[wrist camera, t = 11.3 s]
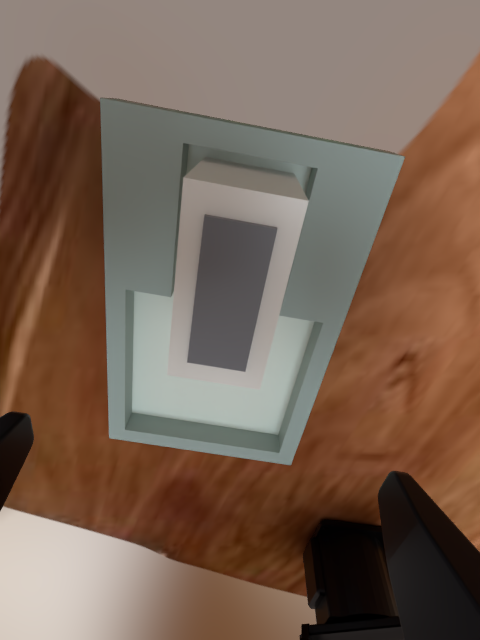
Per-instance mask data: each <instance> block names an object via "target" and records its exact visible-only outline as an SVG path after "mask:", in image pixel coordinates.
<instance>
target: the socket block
mask: <svg viewBox="0 0 480 640" xmlns="http://www.w3.org/2000/svg"><path fill="white" fill-rule="evenodd" d="M308 202H309V200H308V198H307V196H306V195H305V193H304V191H303V189H302V187H301V185H300V183H299V182H298V180H297V178H296V176H295V174H294V173H289V172H284V171H279V170H274V169H268V168H263V167H258V166H252V165H247V164H242V163H237V162H231V161H226V160H221V159H215V158H210V157H205V158H204V159H203V160H202V161H200V162H199V163H198V164H197V165H196V166H195V167H194V168H193V169H192V170H191V171H190V172H189V173H188V174H187V175H186V176H184V177H183V188H182V200H181V212H180V224H179V236H178V248H177V260H176V272H175V284H174V296H173V308H172V320H171V332H170V344H169V356H168V368H167V375H169V376H175V377H182V378H188V379H194V380H201V381H207V382H213V383H219V384H226V385H232V386H238V387H245V388H251V389H257V390H260V387H261V383H262V379H263V376H264V372H265V368H266V364H267V360H268V356H269V352H270V349H271V345H272V341H273V337H274V333H275V329H276V325H277V322H278V318H279V314H280V310H281V306H282V302H283V299H284V295H285V291H286V287H287V283H288V279H289V275H290V272H291V268H292V264H293V260H294V256H295V252H296V249H297V245H298V241H299V237H300V233H301V229H302V225H303V222H304V218H305V214H306V210H307V206H308Z"/></svg>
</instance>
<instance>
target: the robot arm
mask: <svg viewBox="0 0 480 640" xmlns="http://www.w3.org/2000/svg"><path fill="white" fill-rule="evenodd" d="M33 440H34V435H33V429H32V423H31V418H30V416H29V415H28V414H26V413H21V412H9V413H7V414H5V415H3V416H2V417H0V510H1V509H2V507H3V505H4V503H5V501H6V499H7V497H8V495H9V493H10V491H11V489H12V487H13V485H14V482H15V480H16V478H17V476H18V474H19V472H20V470H21V468H22V466H23V464H24V462H25V460H26V457H27V455H28V453H29V451H30V449H31V447H32V444H33ZM378 503H379V510H380V518H381V525H382V528H381V527H374V526H367V525H360V524H353V523H346V522H339V521H332V520H322V521H321V522H320V523H319V525H318V527H317V529H316V531H315V533H314V535H313V537H312V538H311V539H310V541H309V543H308V545H307V547H306V549H305V551H304V553H303V562H304V568H305V578H306V588H307V598H308V605H309V607H310V608H311V609H315V612H316V621H317V624H315V625H309V624H302V634H301V635H300V640H480V552H479V551H478V550H477V549H476V548H475V547H474V545H473V544H472V543H471V542H470V541H469V540H468V539H467V538H466V537H465V535H464V534H463V533H462V532H461V531H460V530H459V529H458V528H457V527H456V525H455V524H454V523H453V522H452V521H451V520H450V519H449V518H448V517H447V515H446V514H445V513H444V512H443V511H442V510H441V509H440V508H439V507H438V505H437V504H436V503H435V502H434V501H433V500H432V499H431V498H430V497H429V495H428V494H427V493H426V492H425V491H424V490H423V489H422V488H421V487H420V486H419V484H418V483H417V482H416V481H415V480H414V479H413V478H412V477H411V476H410V475H409V474H407V473H405V472H398V471H391V472H390V473H389V474H388V476H387V477H386V479H385V481H384V483H383V484H382V486H381V488H380V490H379V493H378Z"/></svg>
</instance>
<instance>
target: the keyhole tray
mask: <svg viewBox="0 0 480 640" xmlns="http://www.w3.org/2000/svg"><path fill="white" fill-rule="evenodd" d="M100 108H101V146H102V184H103V222H104V260H105V298H106V336H107V374H108V412H109V438H112V439H119V440H125V441H132V442H139V443H145V444H152V445H159V446H166V447H172V448H179V449H186V450H192V451H199V452H206V453H212V454H219V455H226V456H232V457H239V458H246V459H252V460H259V461H266V462H272V463H279V464H286V465H291V463H292V461H293V458H294V455H295V453H296V450H297V447H298V444H299V442H300V439H301V436H302V434H303V431H304V428H305V426H306V423H307V420H308V417H309V415H310V412H311V409H312V407H313V404H314V401H315V399H316V396H317V393H318V390H319V388H320V385H321V382H322V380H323V377H324V374H325V372H326V369H327V366H328V363H329V361H330V358H331V355H332V353H333V350H334V347H335V345H336V342H337V339H338V336H339V334H340V331H341V328H342V326H343V323H344V320H345V318H346V315H347V312H348V309H349V307H350V304H351V301H352V299H353V296H354V293H355V291H356V288H357V285H358V282H359V280H360V277H361V274H362V272H363V269H364V266H365V264H366V261H367V258H368V255H369V253H370V250H371V247H372V245H373V242H374V239H375V237H376V234H377V231H378V228H379V226H380V223H381V220H382V218H383V215H384V212H385V210H386V207H387V204H388V201H389V199H390V196H391V193H392V191H393V188H394V185H395V183H396V180H397V177H398V174H399V172H400V169H401V166H402V164H403V161H404V158H405V157H404V156H401V155H398V154H395V153H392V152H390V151H385V150H379V149H374V148H369V147H364V146H358V145H353V144H348V143H343V142H338V141H333V140H328V139H323V138H317V137H312V136H307V135H302V134H297V133H292V132H286V131H281V130H276V129H271V128H266V127H261V126H255V125H250V124H245V123H240V122H235V121H230V120H225V119H220V118H214V117H209V116H204V115H199V114H193V113H188V112H183V111H178V110H173V109H168V108H162V107H158V106H152V105H147V104H142V103H137V102H132V101H127V100H121V99H113V98H100ZM205 157H210V158H215V159H221V160H226V161H231V162H237V163H242V164H247V165H252V166H258V167H263V168H268V169H274V170H279V171H284V172H289V173H294V174H295V176H296V178H297V180H298V182H299V183H300V185H301V187H302V189H303V191H304V193H305V195H306V196H307V198H308V200H309V202H308V206H307V210H306V214H305V218H304V222H303V225H302V229H301V233H300V237H299V241H298V245H297V249H296V252H295V256H294V260H293V264H292V268H291V272H290V275H289V279H288V283H287V287H286V291H285V295H284V299H283V302H282V306H281V310H280V314H279V318H278V322H277V325H276V329H275V333H274V337H273V341H272V345H271V349H270V352H269V356H268V360H267V364H266V368H265V372H264V376H263V379H262V383H261V387H260V390H257V389H251V388H245V387H238V386H232V385H226V384H219V383H213V382H207V381H201V380H194V379H188V378H182V377H175V376H169V375H167V368H168V356H169V344H170V332H171V320H172V308H173V296H174V284H175V272H176V260H177V248H178V236H179V224H180V212H181V200H182V188H183V177H184V176H186V175H187V174H188V173H189V172H190V171H191V170H192V169H193V168H194V167H195V166H196V165H197V164H198V163H199V162H200V161H202V160H203V159H204V158H205Z"/></svg>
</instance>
